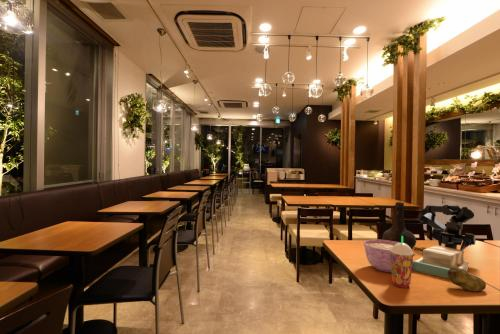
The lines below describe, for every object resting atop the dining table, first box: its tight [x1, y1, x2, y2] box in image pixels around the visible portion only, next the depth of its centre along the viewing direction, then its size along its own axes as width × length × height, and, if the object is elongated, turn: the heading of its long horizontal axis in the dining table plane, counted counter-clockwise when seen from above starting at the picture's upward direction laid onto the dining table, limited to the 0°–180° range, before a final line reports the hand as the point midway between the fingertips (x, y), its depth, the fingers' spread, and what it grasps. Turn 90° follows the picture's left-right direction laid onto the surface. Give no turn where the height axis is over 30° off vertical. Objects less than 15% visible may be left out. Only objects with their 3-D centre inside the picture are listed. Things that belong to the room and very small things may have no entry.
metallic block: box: [422, 244, 465, 269], centre depth 149 cm, size 16×12×8 cm
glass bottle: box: [381, 201, 417, 250], centre depth 178 cm, size 18×18×28 cm
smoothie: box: [391, 236, 415, 289], centre depth 125 cm, size 8×8×20 cm
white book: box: [412, 256, 469, 280], centre depth 146 cm, size 23×18×4 cm
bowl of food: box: [363, 239, 399, 273], centre depth 144 cm, size 20×20×12 cm
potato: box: [447, 267, 487, 292], centre depth 122 cm, size 8×13×8 cm, turn 58°
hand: (449, 249), depth 157 cm, fingers open, 9 cm apart
